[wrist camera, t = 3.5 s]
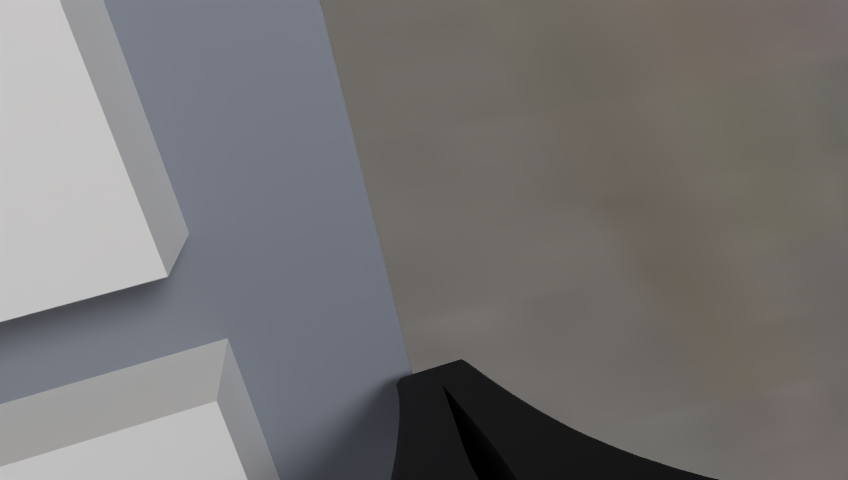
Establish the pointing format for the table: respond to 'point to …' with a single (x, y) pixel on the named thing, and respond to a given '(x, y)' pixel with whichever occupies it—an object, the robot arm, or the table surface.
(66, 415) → the tile
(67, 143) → the tile
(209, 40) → the board
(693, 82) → the table surface
